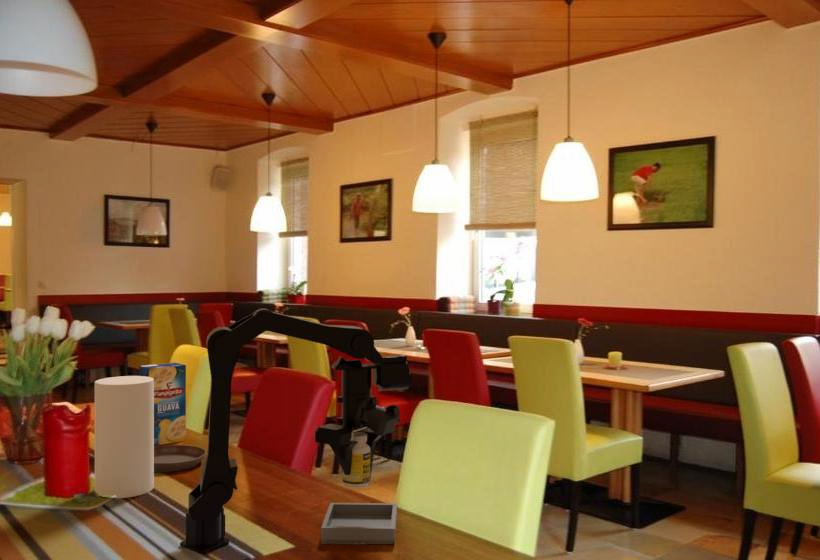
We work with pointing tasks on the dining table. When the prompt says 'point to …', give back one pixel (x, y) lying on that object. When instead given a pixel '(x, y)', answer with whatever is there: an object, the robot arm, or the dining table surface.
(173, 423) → the beverage box
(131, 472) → the cylinder
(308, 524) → the dining table surface
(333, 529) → the gray rectangular open tray
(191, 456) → the plant saucer
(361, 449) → the supplement bottle
